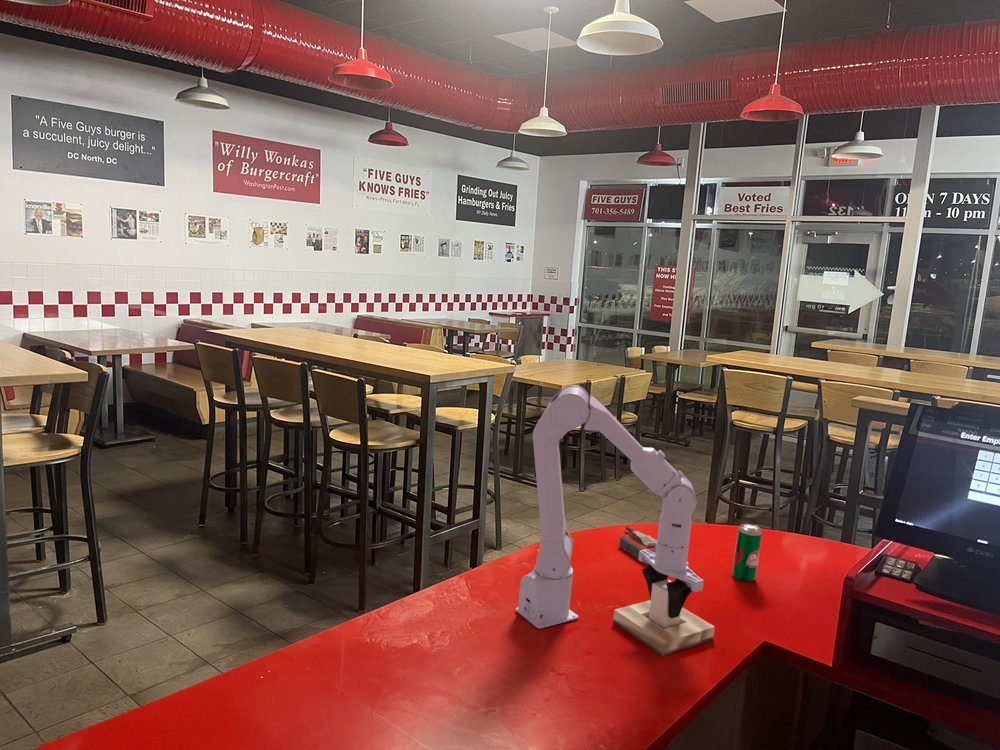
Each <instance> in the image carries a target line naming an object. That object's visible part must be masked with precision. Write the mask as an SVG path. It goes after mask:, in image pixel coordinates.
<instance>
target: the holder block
mask: <svg viewBox="0 0 1000 750" xmlns="http://www.w3.org/2000/svg"><path fill="white" fill-rule="evenodd" d="M649 610H650V599H649V600H645V601H642V602H638V603H633V604H631V605H627V606H623V607H619V608H616V609H614V613H613V623H614V624H616V625H617V626H619V627H620V628H621V629H623V630H624V631H626V632H628V633H629V634H630V635H632V636H633V637H634V638H636V639H637V640H639V641H640V642H641V643H644V645H646V646H648V647H649V648H650V649H652V650H653V651H654V652H656V653H657V654H659V655H660V656H662V657H663V656H666V655H669V654H672V653H676V652H679V651H682V650H685V649H688V648H691V647H694V646H697V645H699V644H703V643H706V642H709V641H712V640H714V636H715V626H714V625H713V624H711V623H710V622H708V621H706V620H704V619H703V618H701V617H700V616H698V615H697V614H694V613H693V612H691V611H689V610H688V609H686V608H684V606H683V607H682V609H681V614H680V622H679V624H676V625H672V626H669V627H666V628H663V627H662V626H660V625H658V624H657V623H655V622H654V621H652V620H651V619H649Z"/></svg>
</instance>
